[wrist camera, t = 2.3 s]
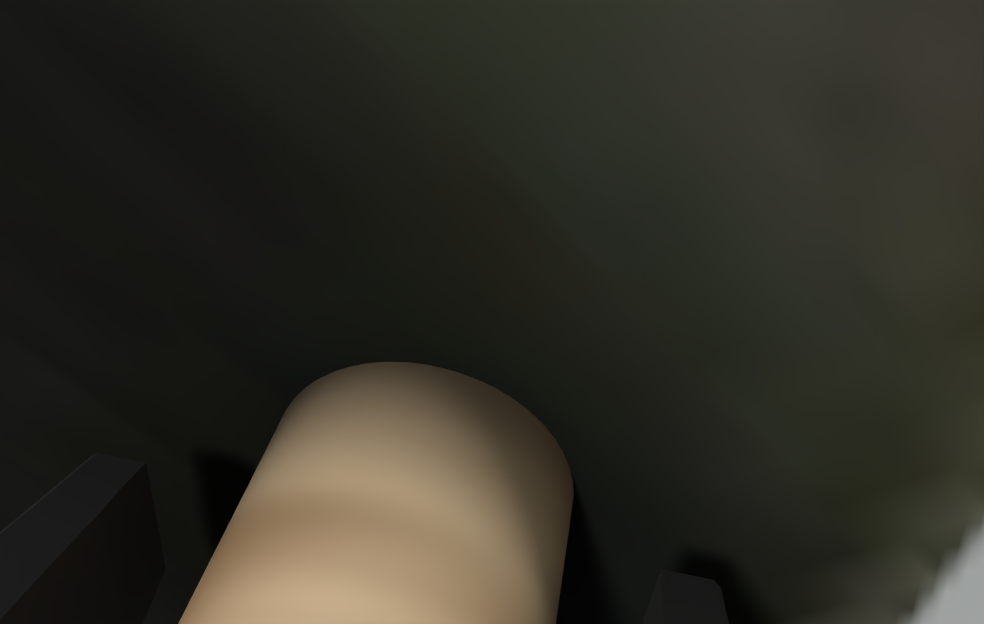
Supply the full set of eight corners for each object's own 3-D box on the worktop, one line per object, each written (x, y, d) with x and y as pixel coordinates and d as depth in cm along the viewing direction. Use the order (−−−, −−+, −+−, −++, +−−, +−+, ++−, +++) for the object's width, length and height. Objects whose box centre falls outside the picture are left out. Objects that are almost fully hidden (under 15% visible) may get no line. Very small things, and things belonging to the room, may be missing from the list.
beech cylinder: (550, 598, 14) (498, 951, 10) (283, 541, 14) (141, 865, 10) (598, 397, 11) (550, 772, 8) (270, 333, 11) (78, 667, 8)
